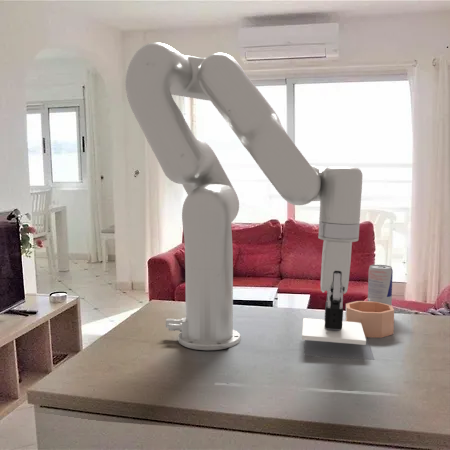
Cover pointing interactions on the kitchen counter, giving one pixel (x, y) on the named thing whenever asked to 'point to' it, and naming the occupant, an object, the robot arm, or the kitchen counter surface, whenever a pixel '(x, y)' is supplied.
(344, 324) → the lid
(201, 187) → the robot arm
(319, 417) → the kitchen counter surface
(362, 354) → the mat
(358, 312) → the bowl
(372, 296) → the energy drink
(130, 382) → the kitchen counter surface
